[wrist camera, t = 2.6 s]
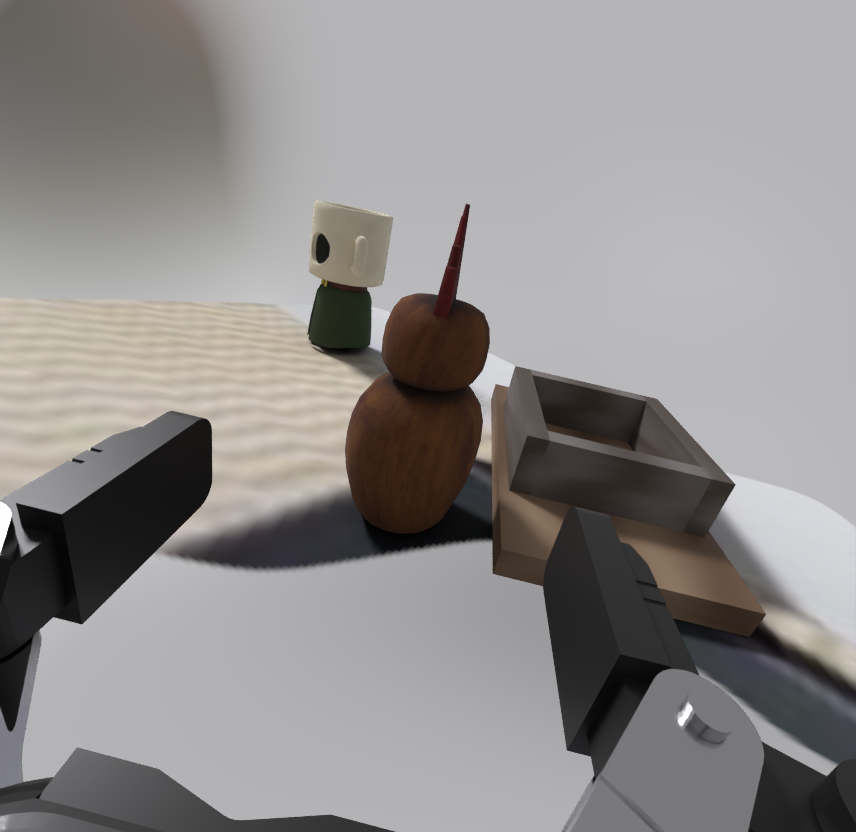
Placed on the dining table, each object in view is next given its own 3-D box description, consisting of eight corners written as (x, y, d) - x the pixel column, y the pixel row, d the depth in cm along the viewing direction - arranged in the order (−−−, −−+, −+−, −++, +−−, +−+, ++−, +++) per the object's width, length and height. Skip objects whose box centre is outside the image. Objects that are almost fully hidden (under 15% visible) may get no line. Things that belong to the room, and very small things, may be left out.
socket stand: (492, 573, 21) (523, 485, 19) (491, 399, 41) (506, 347, 39) (749, 637, 20) (810, 554, 18) (621, 429, 40) (643, 378, 38)
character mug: (298, 326, 49) (307, 196, 44) (361, 332, 52) (378, 210, 46) (307, 362, 40) (322, 204, 35) (384, 367, 43) (409, 222, 37)
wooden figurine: (389, 464, 28) (440, 198, 21) (473, 504, 26) (557, 224, 19) (314, 517, 22) (353, 177, 16) (415, 574, 20) (506, 209, 14)
